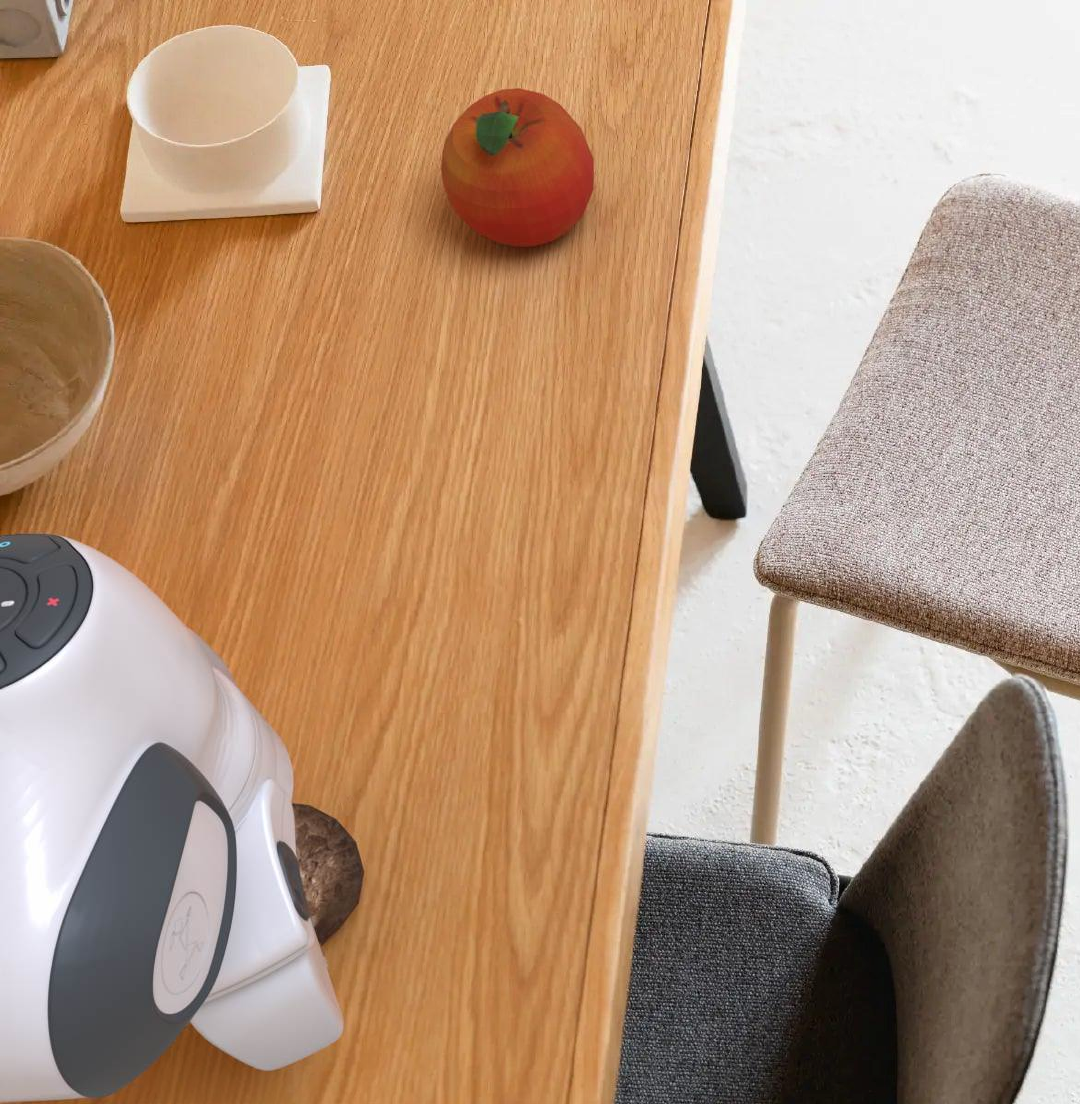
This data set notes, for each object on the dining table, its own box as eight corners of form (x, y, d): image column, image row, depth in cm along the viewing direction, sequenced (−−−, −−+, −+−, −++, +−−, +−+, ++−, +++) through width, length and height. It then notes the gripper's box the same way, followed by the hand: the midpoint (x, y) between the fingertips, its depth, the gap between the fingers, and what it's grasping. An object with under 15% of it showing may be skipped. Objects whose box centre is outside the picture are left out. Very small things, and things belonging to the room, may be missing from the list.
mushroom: (178, 807, 73) (187, 819, 68) (344, 785, 77) (366, 794, 72) (190, 968, 73) (200, 993, 68) (356, 938, 77) (378, 960, 71)
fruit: (615, 165, 99) (592, 48, 90) (589, 276, 94) (562, 164, 86) (476, 156, 100) (440, 39, 91) (444, 265, 95) (402, 153, 86)
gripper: (43, 616, 64) (170, 740, 76) (154, 1050, 55) (278, 1113, 67) (186, 560, 66) (288, 690, 78) (317, 974, 56) (410, 1049, 68)
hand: (284, 889), depth 72 cm, fingers closed on mushroom, 7 cm apart
